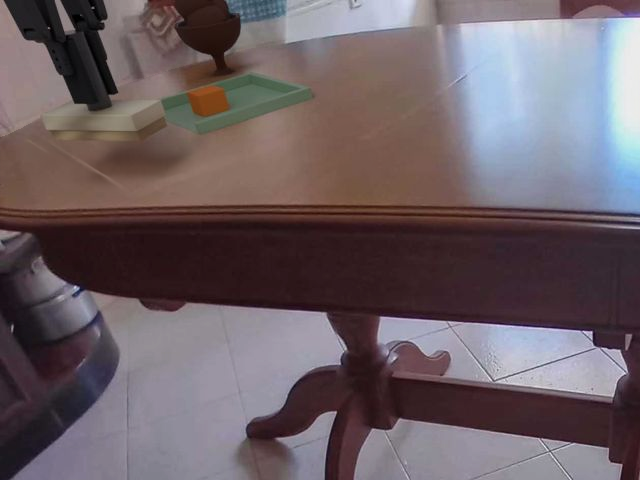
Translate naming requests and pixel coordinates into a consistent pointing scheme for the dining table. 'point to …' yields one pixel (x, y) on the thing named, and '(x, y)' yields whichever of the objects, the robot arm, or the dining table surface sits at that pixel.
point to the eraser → (208, 100)
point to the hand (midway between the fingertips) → (96, 97)
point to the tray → (236, 102)
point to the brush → (102, 110)
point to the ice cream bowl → (208, 29)
